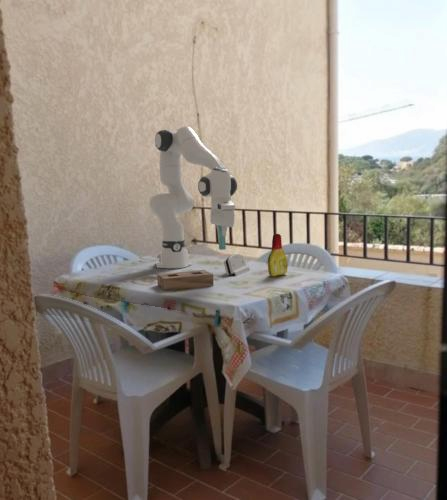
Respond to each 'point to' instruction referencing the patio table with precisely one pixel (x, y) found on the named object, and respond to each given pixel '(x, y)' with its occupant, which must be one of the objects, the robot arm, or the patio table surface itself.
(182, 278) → the hole block
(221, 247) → the peg
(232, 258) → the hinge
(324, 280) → the patio table surface
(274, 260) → the bottle
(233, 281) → the patio table surface
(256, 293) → the patio table surface
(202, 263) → the patio table surface
